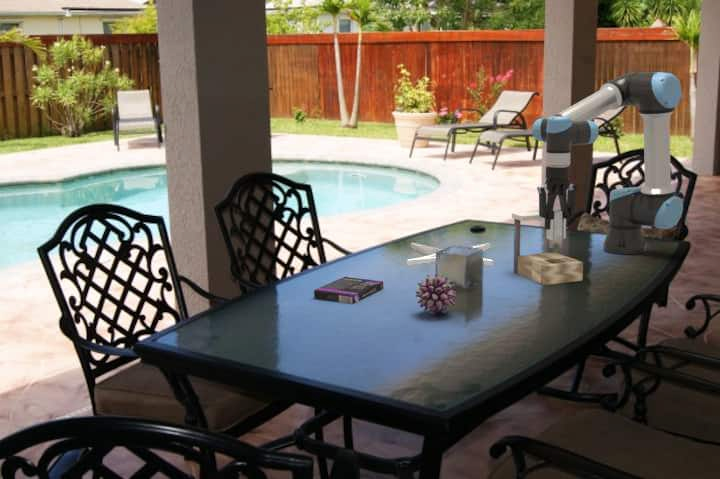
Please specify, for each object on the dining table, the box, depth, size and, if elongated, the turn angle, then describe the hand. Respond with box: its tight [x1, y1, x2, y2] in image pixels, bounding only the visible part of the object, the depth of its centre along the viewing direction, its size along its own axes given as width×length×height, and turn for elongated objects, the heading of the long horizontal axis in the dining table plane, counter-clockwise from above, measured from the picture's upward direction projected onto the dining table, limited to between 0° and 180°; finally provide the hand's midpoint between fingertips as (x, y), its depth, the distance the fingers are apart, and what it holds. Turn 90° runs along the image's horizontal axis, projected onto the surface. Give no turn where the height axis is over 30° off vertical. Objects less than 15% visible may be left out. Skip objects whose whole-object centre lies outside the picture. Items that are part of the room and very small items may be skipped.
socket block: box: [517, 251, 584, 286], centre depth 303 cm, size 14×17×6 cm
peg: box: [549, 208, 563, 249], centre depth 297 cm, size 4×4×12 cm
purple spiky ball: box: [415, 272, 458, 315], centre depth 263 cm, size 12×12×12 cm
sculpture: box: [406, 242, 494, 267], centre depth 337 cm, size 30×3×30 cm
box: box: [313, 276, 384, 305], centre depth 288 cm, size 14×4×20 cm
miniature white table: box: [511, 210, 555, 274], centre depth 309 cm, size 16×6×20 cm, turn 110°
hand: (556, 238), depth 298 cm, fingers closed on peg, 4 cm apart
